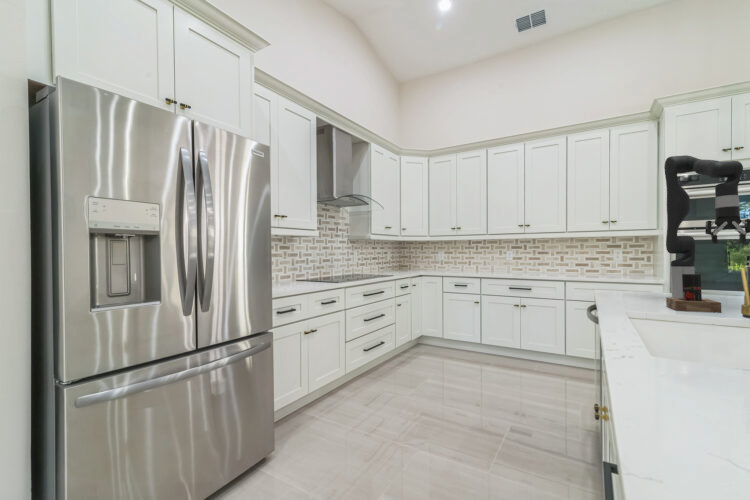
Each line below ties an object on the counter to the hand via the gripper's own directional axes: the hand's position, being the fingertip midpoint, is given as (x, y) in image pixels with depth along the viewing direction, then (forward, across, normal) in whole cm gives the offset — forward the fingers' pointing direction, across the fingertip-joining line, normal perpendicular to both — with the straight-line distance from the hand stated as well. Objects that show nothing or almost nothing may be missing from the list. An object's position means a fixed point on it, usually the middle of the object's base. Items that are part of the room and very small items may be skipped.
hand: (728, 243), depth 151 cm
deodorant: (+28, +16, +11) cm, 34 cm away
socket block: (+28, +16, +11) cm, 34 cm away
